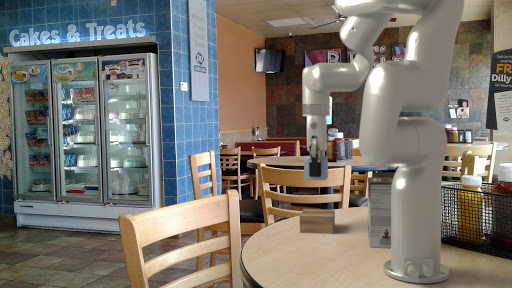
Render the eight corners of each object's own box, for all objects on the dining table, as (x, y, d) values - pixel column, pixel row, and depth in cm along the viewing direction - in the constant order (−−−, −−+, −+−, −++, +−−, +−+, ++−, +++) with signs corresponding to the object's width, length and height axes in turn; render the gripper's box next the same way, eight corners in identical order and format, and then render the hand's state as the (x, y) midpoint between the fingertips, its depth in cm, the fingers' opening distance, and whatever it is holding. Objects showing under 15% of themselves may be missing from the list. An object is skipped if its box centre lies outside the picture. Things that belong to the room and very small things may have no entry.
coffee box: (367, 237, 119) (367, 176, 118) (392, 238, 117) (392, 176, 116) (368, 247, 110) (368, 182, 109) (396, 248, 108) (396, 182, 107)
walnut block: (332, 234, 123) (332, 216, 123) (299, 233, 125) (299, 215, 125) (334, 226, 132) (334, 209, 131) (304, 225, 134) (303, 208, 133)
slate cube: (326, 180, 124) (325, 158, 124) (304, 179, 125) (304, 158, 125) (327, 177, 130) (327, 156, 129) (307, 176, 131) (306, 156, 131)
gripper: (327, 111, 117) (327, 180, 118) (331, 110, 134) (332, 170, 135) (298, 111, 119) (298, 179, 120) (306, 110, 135) (306, 170, 137)
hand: (316, 174), depth 128 cm, fingers closed on slate cube, 6 cm apart
